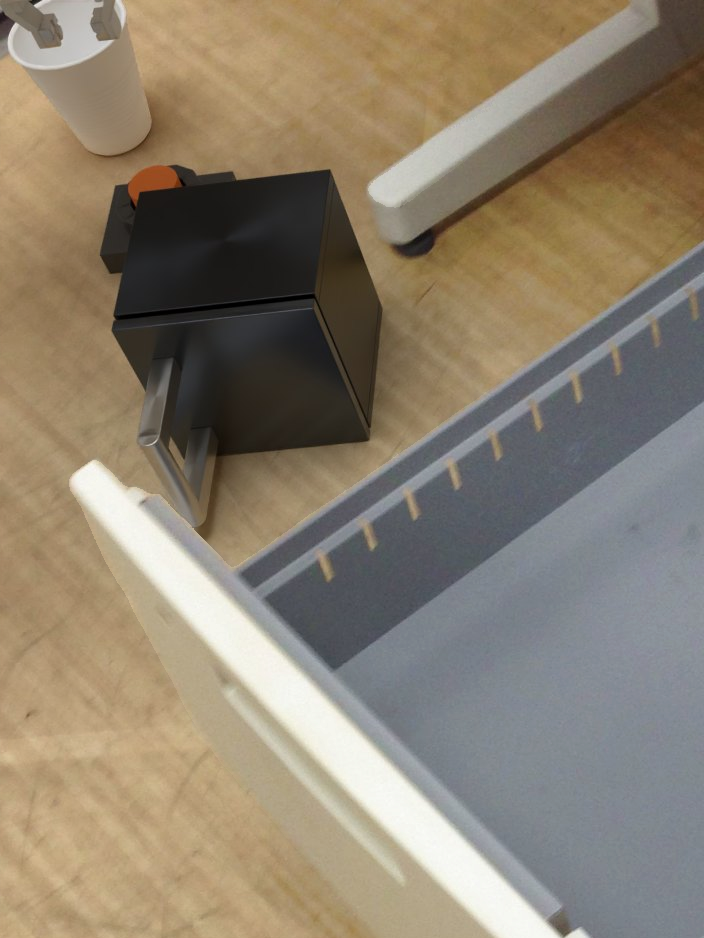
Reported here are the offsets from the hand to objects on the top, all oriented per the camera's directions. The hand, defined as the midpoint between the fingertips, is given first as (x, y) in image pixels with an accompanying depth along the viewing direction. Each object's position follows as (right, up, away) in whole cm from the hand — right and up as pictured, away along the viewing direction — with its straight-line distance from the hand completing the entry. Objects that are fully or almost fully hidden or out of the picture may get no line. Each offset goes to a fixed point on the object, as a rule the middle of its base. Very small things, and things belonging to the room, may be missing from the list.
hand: (81, 39), depth 130 cm
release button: (+2, -8, +13) cm, 15 cm away
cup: (-4, 0, +24) cm, 24 cm away
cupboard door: (+14, -32, -1) cm, 35 cm away
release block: (+3, -10, +16) cm, 19 cm away
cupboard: (+14, -24, +5) cm, 28 cm away
